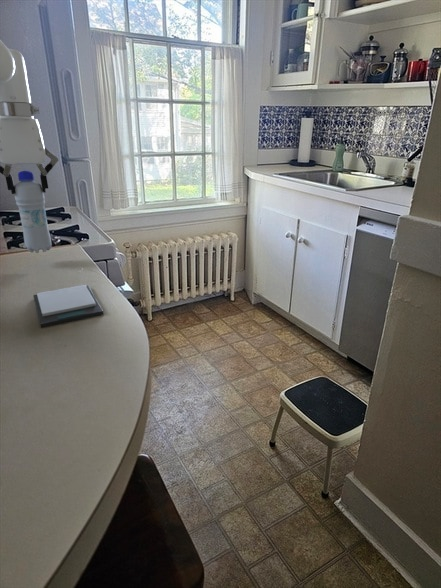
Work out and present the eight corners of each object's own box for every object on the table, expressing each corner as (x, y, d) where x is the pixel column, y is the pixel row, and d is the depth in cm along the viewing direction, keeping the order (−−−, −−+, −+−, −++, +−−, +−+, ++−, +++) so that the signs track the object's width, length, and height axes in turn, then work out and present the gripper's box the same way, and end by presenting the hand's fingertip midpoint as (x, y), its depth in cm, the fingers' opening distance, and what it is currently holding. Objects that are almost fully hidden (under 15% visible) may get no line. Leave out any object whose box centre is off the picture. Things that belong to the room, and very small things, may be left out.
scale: (35, 305, 81) (32, 292, 80) (89, 295, 86) (87, 282, 85) (42, 335, 70) (39, 321, 69) (104, 322, 75) (102, 308, 73)
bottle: (20, 251, 101) (3, 171, 93) (43, 245, 106) (30, 168, 98) (35, 256, 98) (19, 173, 90) (58, 249, 103) (45, 170, 95)
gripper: (54, 113, 95) (65, 188, 103) (-27, 111, 89) (-9, 192, 96) (56, 112, 89) (67, 193, 96) (-32, 110, 83) (-13, 196, 90)
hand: (29, 191), depth 96 cm, fingers closed on bottle, 6 cm apart
